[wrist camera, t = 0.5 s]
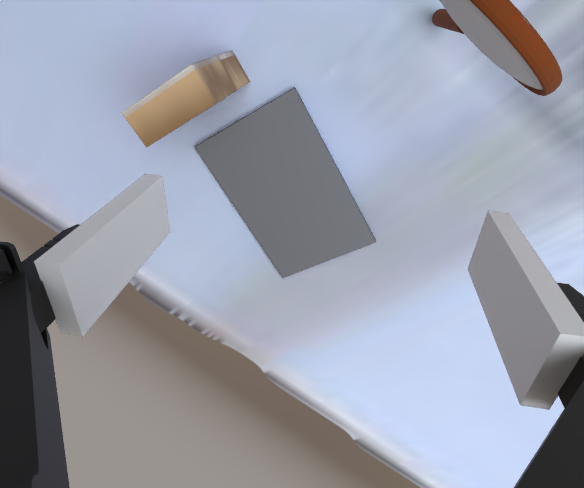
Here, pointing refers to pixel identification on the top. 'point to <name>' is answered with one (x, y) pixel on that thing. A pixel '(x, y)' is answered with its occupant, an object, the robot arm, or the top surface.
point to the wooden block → (185, 96)
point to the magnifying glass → (504, 40)
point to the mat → (286, 186)
